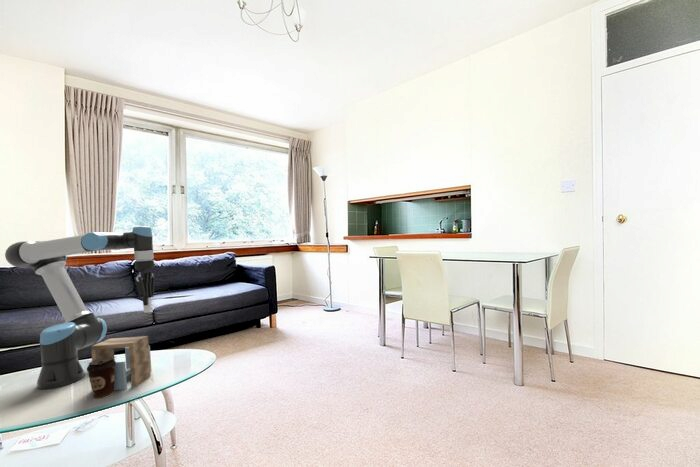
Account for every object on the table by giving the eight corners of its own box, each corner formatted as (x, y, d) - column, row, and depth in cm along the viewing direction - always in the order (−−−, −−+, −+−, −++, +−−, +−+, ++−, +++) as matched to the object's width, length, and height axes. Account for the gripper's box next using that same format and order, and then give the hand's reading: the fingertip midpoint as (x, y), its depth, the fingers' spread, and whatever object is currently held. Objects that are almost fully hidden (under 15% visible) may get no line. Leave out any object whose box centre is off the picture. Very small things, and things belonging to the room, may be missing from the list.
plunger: (127, 372, 147) (125, 347, 147) (152, 371, 147) (150, 345, 147) (95, 391, 129) (93, 362, 129) (124, 389, 129) (122, 360, 129)
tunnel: (112, 380, 142) (109, 338, 142) (150, 377, 142) (148, 335, 142) (94, 390, 132) (91, 346, 132) (135, 387, 132) (132, 343, 132)
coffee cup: (102, 402, 121) (99, 366, 120) (83, 401, 122) (79, 365, 122) (123, 389, 129) (120, 355, 129) (105, 389, 131) (101, 355, 130)
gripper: (144, 260, 163) (148, 309, 163) (126, 261, 150) (130, 315, 150) (160, 258, 163) (163, 308, 163) (143, 260, 150) (147, 314, 150)
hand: (147, 312), depth 156 cm, fingers closed
